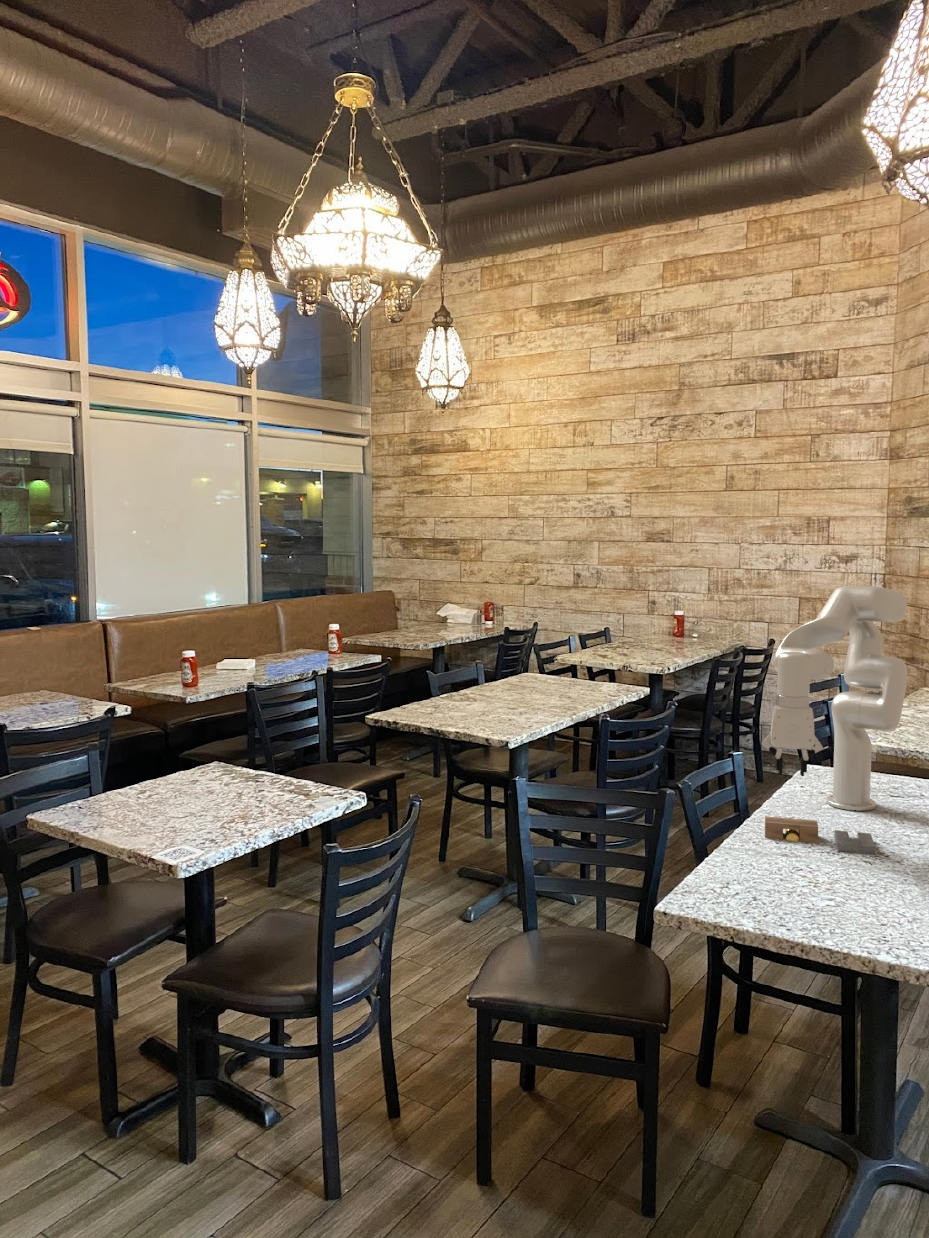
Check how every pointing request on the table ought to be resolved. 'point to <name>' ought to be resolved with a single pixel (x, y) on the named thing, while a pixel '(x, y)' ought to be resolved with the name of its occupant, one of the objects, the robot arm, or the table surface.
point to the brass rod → (792, 835)
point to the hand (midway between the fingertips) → (791, 773)
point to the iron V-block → (855, 843)
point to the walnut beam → (805, 827)
